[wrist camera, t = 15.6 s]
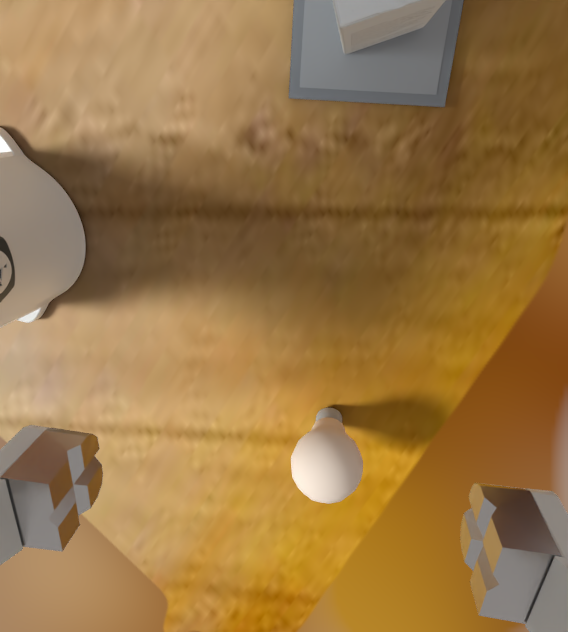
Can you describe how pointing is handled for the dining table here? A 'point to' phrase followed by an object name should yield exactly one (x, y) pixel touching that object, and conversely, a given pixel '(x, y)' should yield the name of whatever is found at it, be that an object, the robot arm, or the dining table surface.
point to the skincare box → (380, 20)
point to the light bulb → (327, 460)
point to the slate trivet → (372, 60)
